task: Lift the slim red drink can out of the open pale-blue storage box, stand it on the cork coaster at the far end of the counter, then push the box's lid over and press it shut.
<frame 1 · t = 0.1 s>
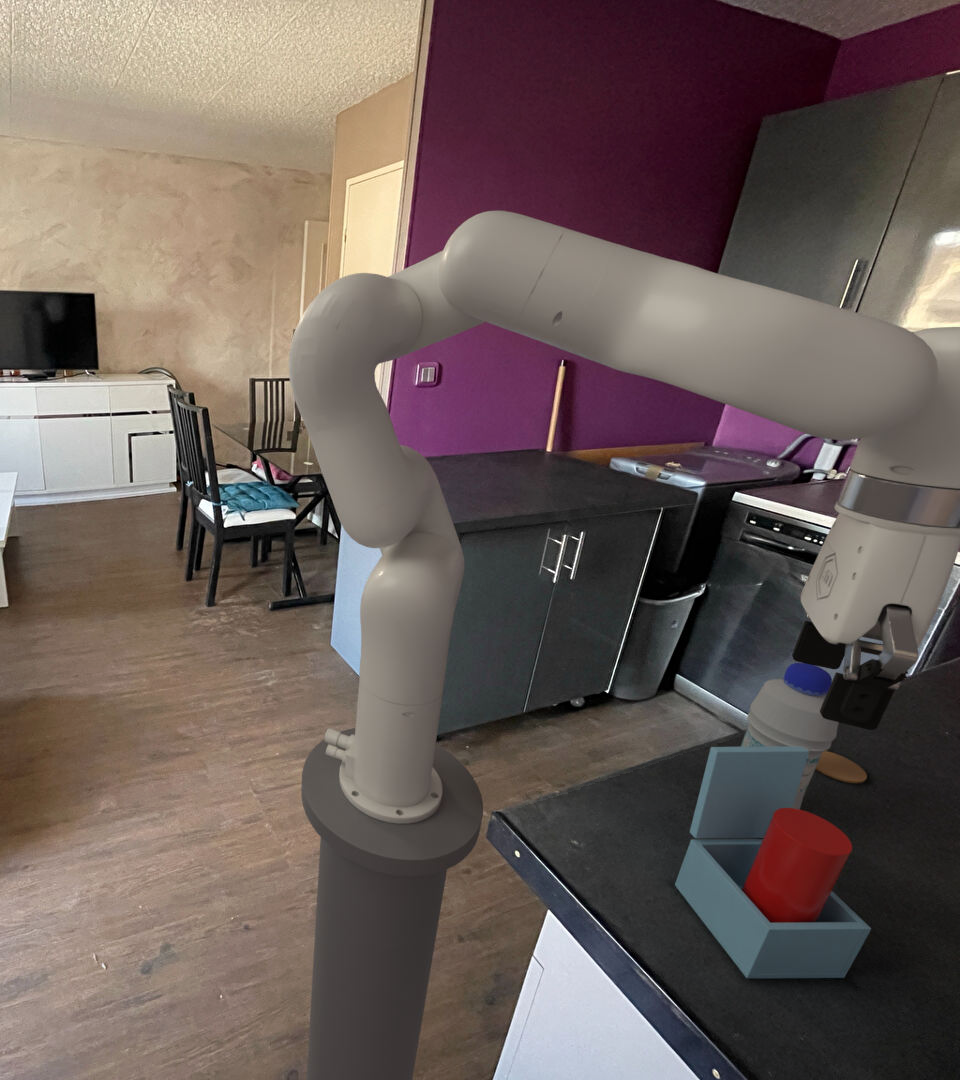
hand: (828, 690, 50), 23 cm above the countertop, tool pointing down, fingers open, 9 cm apart
bottle: (750, 820, 65), on the countertop
can: (764, 934, 52), point 1 cm above the countertop, touching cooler
cooler lid: (747, 793, 54), point 11 cm above the countertop, hinge at 95.0°
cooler: (752, 928, 54), on the countertop
coaster: (834, 766, 73), on the countertop
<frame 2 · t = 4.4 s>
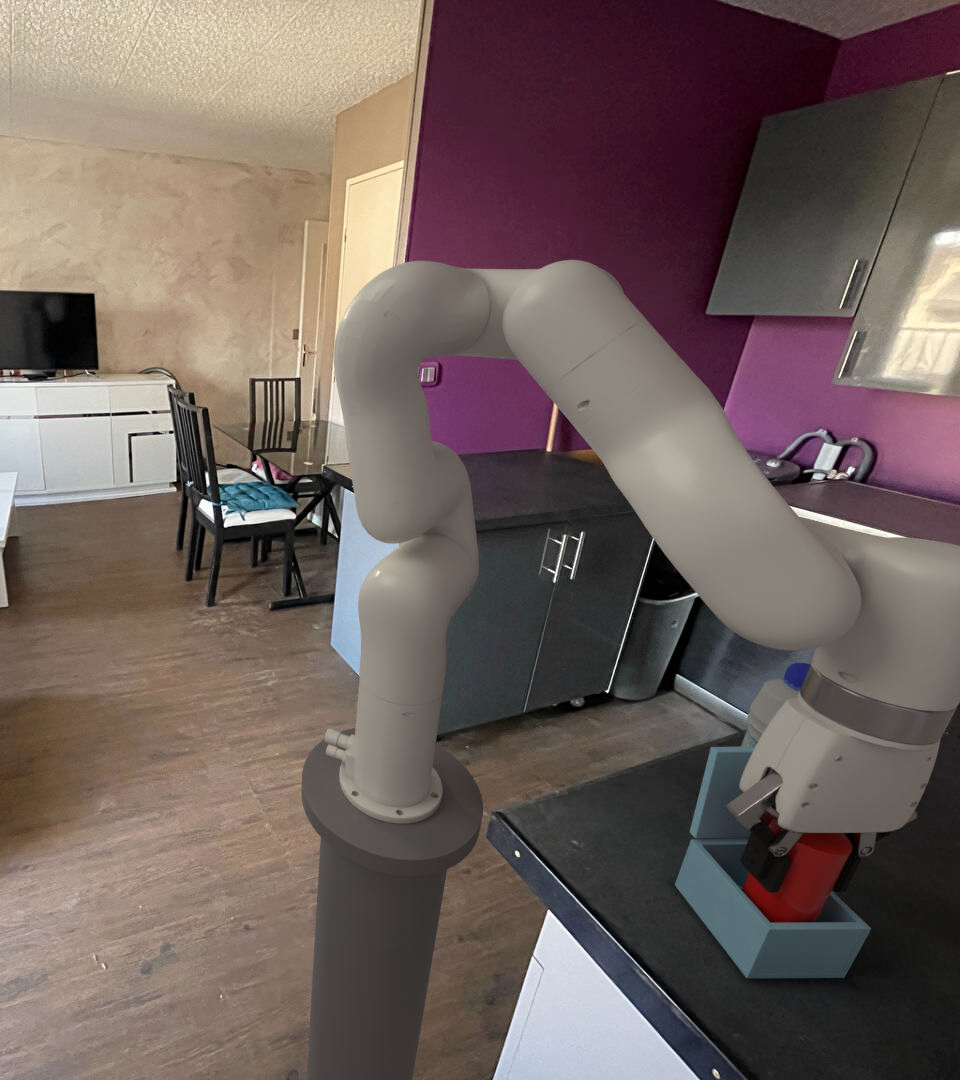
hand: (790, 875, 50), 8 cm above the countertop, tool pointing down, fingers closed on can, 4 cm apart
can: (764, 934, 52), point 1 cm above the countertop, touching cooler, gripper
everything else where it was.
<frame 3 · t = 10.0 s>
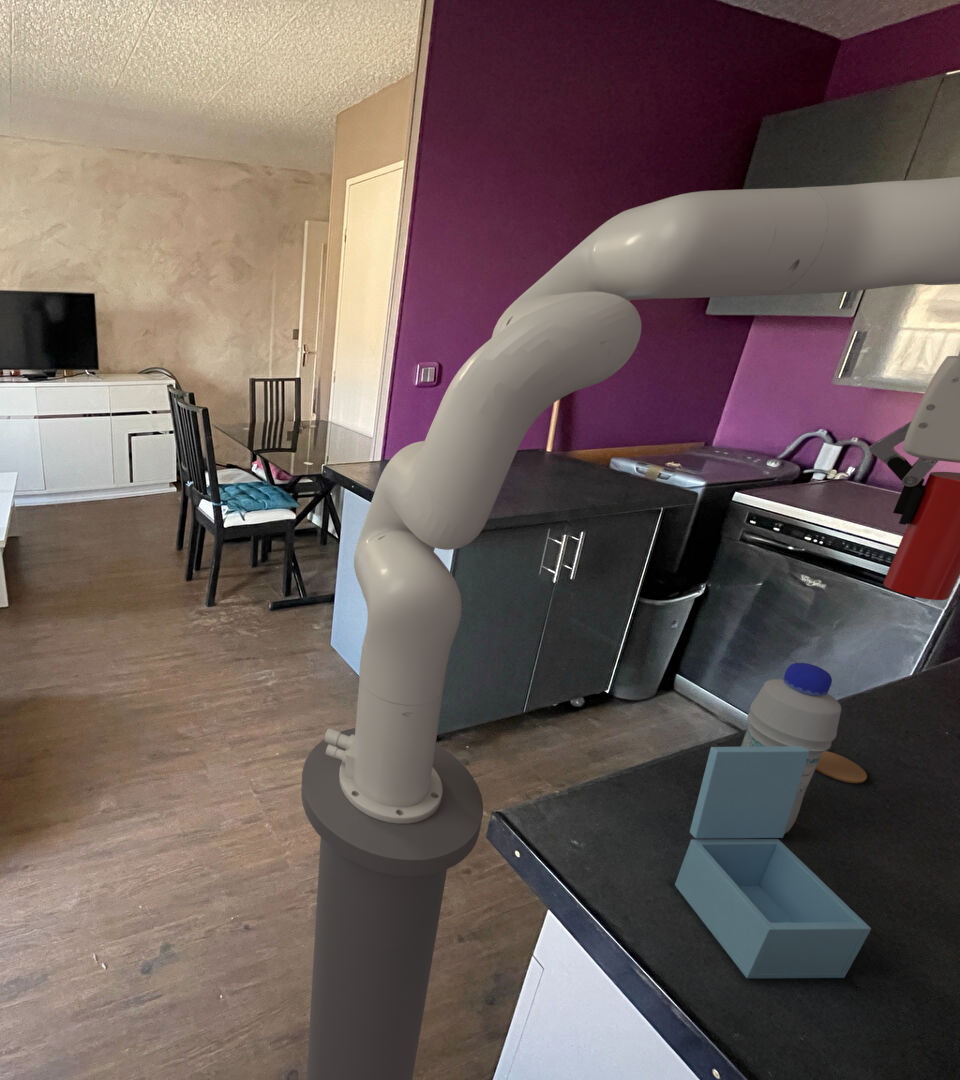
hand: (943, 526, 60), 33 cm above the countertop, tool pointing down, fingers closed on can, 4 cm apart
can: (915, 590, 62), point 25 cm above the countertop, touching gripper
everything else where it was.
when the fingers open (8 cm above the countertop, at t = 15.8 s): can stays where it is, resting on coaster.
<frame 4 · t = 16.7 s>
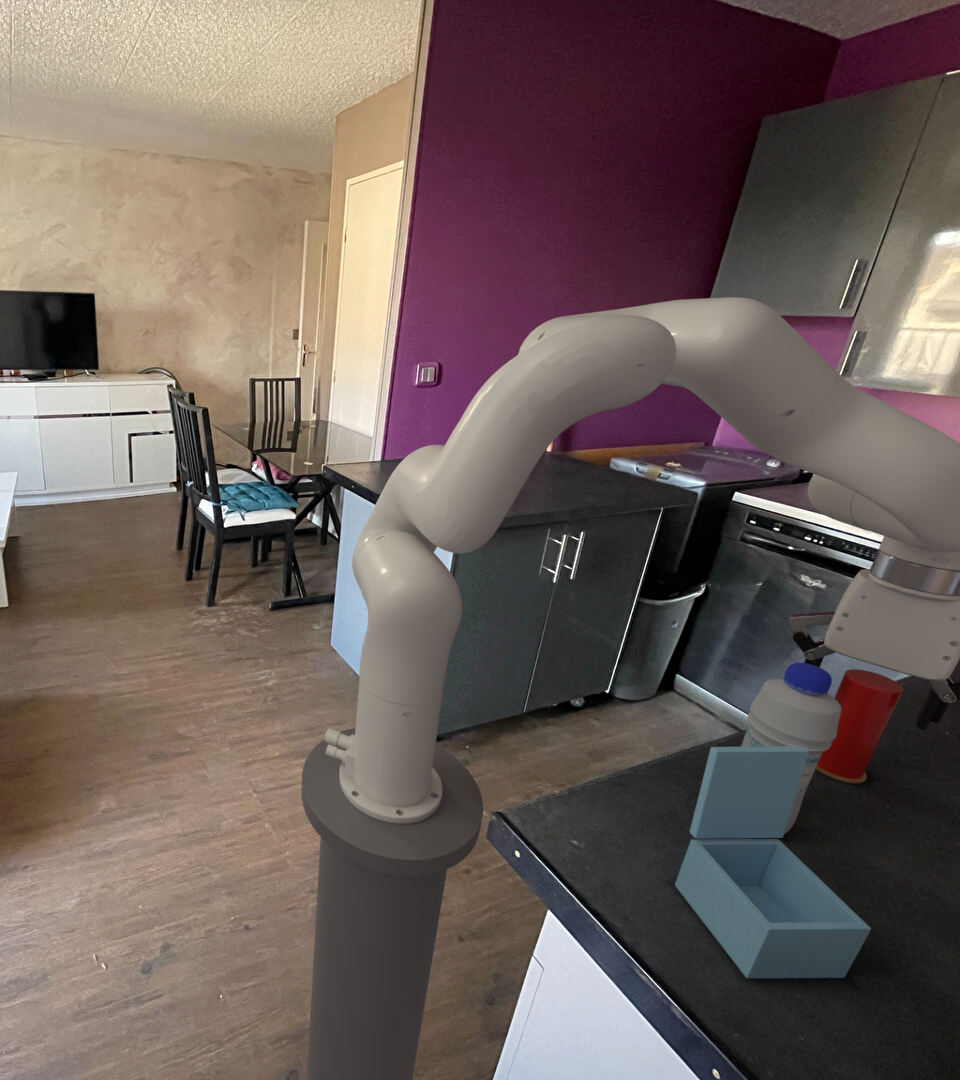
hand: (861, 703, 69), 10 cm above the countertop, tool pointing down, fingers open, 9 cm apart
can: (835, 764, 73), resting on coaster
everything else where it was.
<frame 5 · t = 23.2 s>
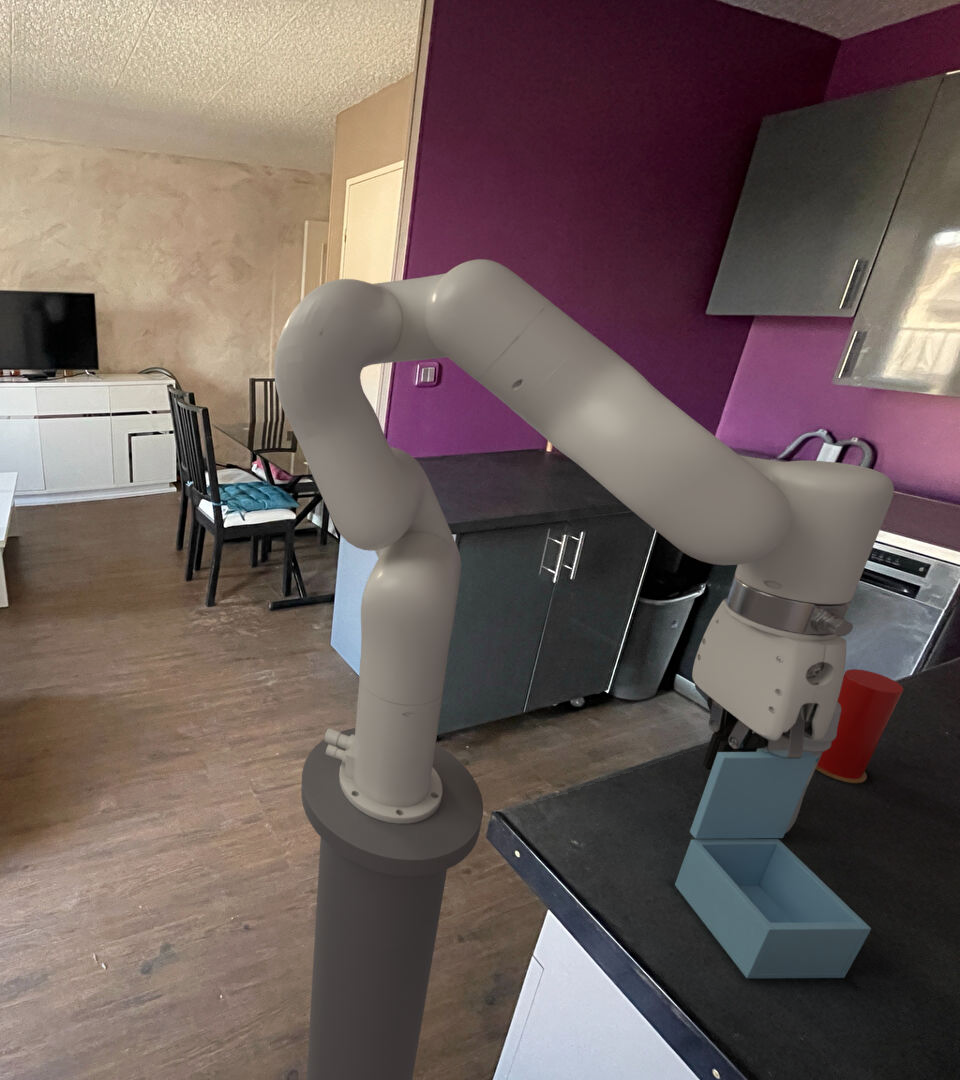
hand: (724, 771, 57), 11 cm above the countertop, tool pointing down, fingers closed
cooler lid: (751, 796, 54), point 11 cm above the countertop, hinge at 90.4°, touching gripper
everything else where it was.
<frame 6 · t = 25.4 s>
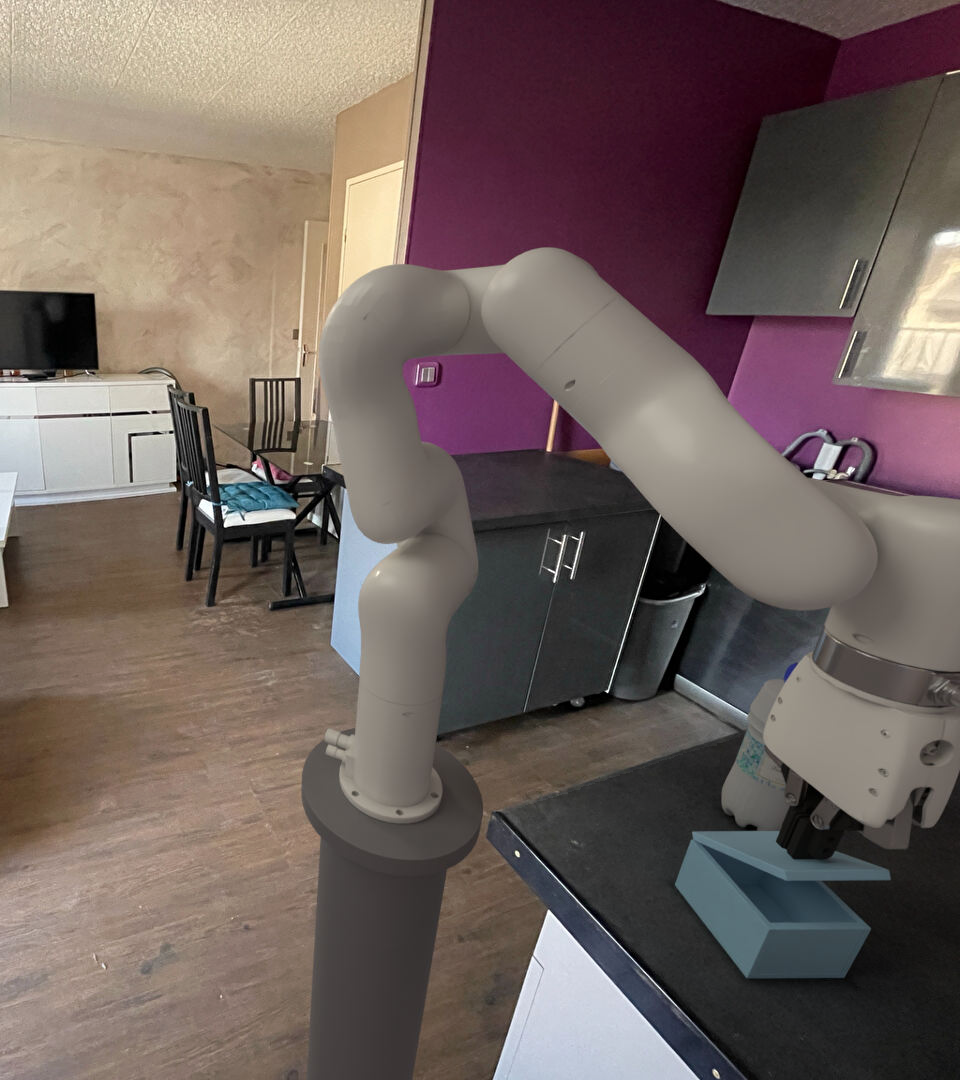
hand: (801, 850, 49), 11 cm above the countertop, tool pointing down, fingers closed
cooler lid: (782, 853, 51), point 9 cm above the countertop, hinge at 30.7°
everything else where it was.
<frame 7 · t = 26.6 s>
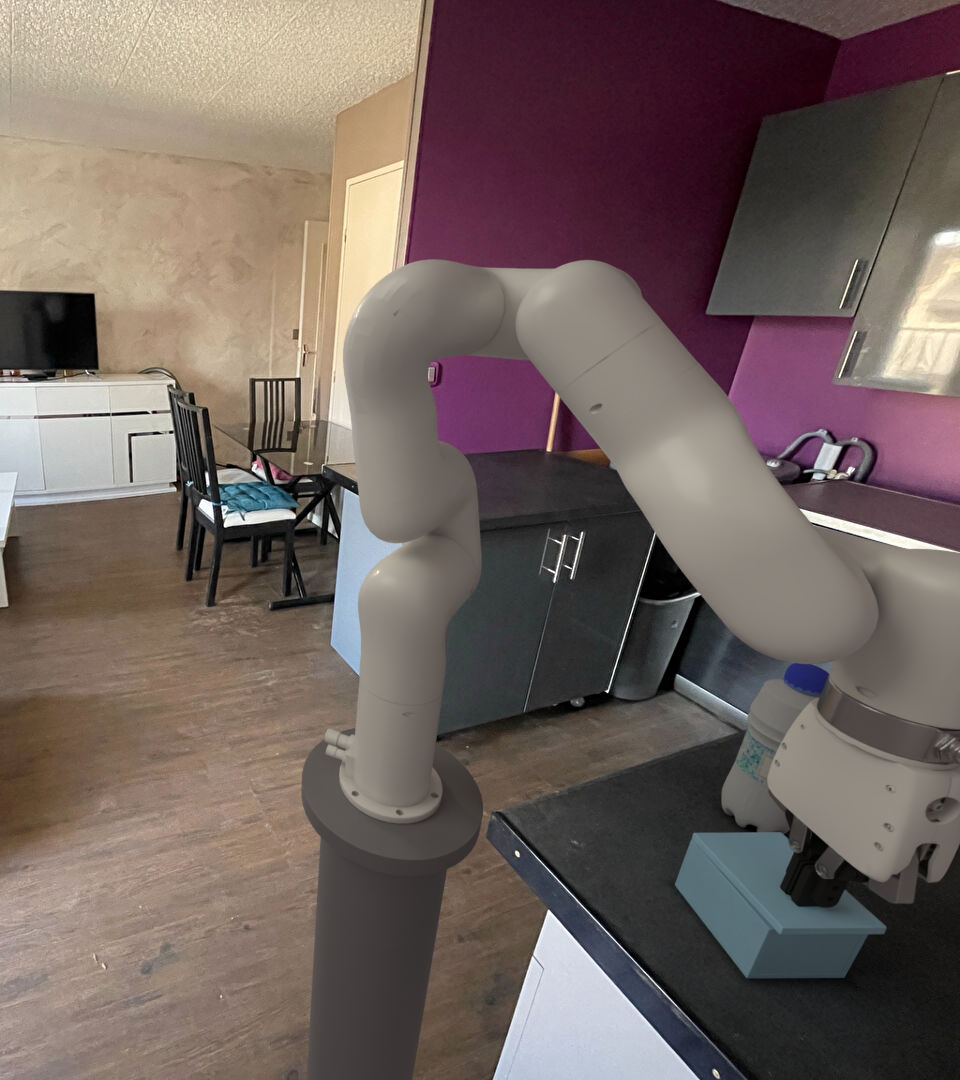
hand: (805, 897, 49), 7 cm above the countertop, tool pointing down, fingers closed
cooler lid: (780, 879, 51), point 7 cm above the countertop, hinge at 2.4°, touching gripper
everything else where it was.
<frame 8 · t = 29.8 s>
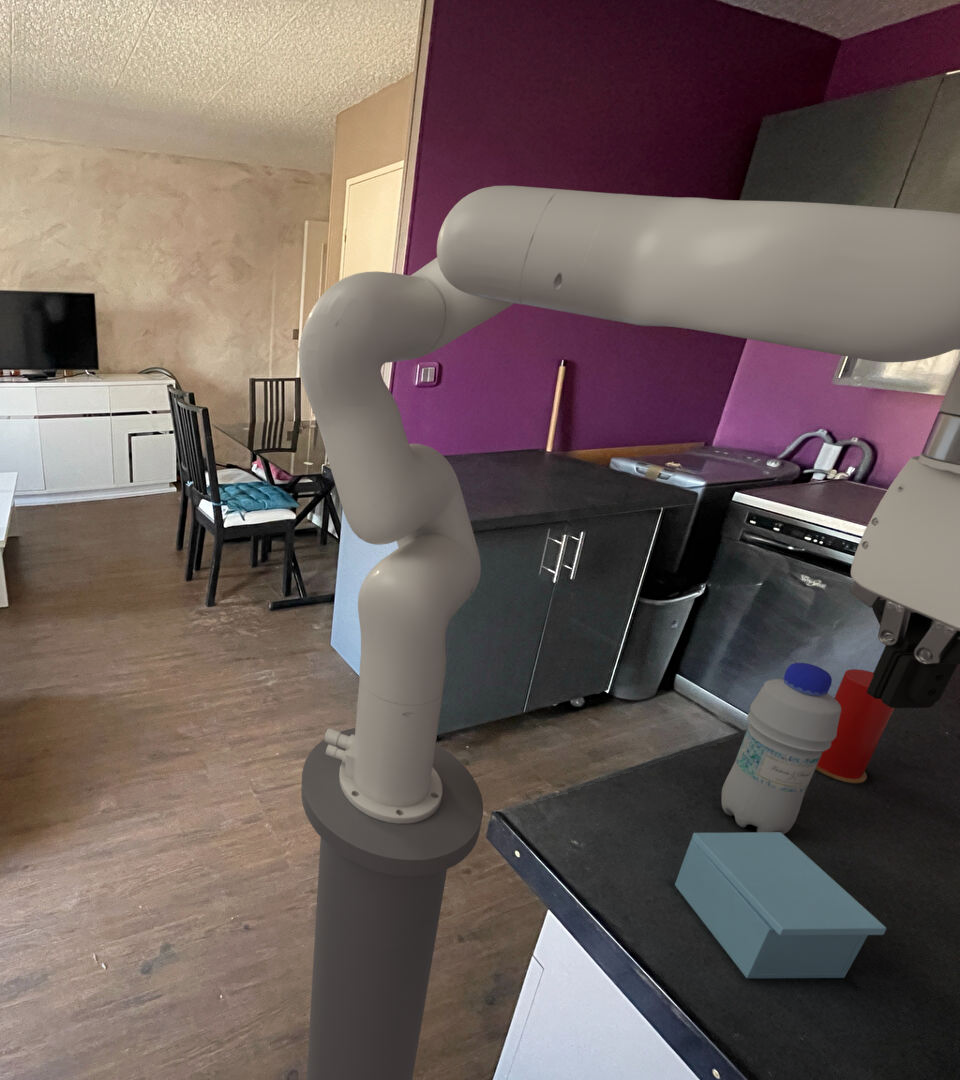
hand: (898, 700, 42), 27 cm above the countertop, tool pointing down, fingers closed
cooler lid: (780, 879, 51), point 7 cm above the countertop, hinge at 1.9°
everything else where it was.
at the end: can 0.0 cm off-centre on the coaster, point 0.3 cm above the coaster's base; can tilted 0°; cooler lid at +2° (first picture: +95°) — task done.
